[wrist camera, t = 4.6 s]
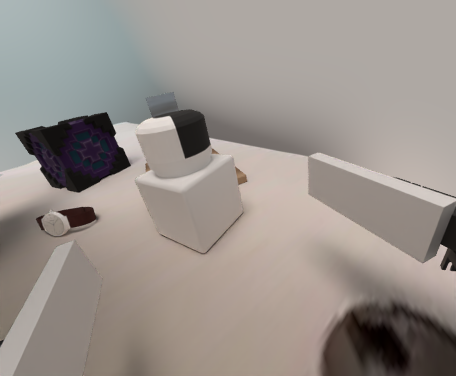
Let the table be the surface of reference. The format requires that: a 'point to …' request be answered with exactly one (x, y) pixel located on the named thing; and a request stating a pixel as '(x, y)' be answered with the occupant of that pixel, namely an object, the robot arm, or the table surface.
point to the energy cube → (76, 151)
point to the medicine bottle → (187, 180)
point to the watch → (65, 220)
